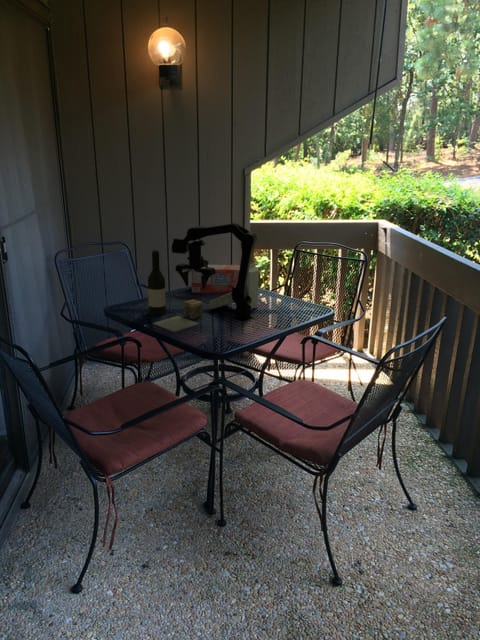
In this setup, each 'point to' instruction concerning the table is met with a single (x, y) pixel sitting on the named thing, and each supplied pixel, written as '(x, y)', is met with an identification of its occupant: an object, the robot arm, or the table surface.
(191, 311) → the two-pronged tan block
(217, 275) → the box
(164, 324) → the mat
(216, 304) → the candy bar box
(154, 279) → the wine bottle
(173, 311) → the table surface
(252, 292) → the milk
